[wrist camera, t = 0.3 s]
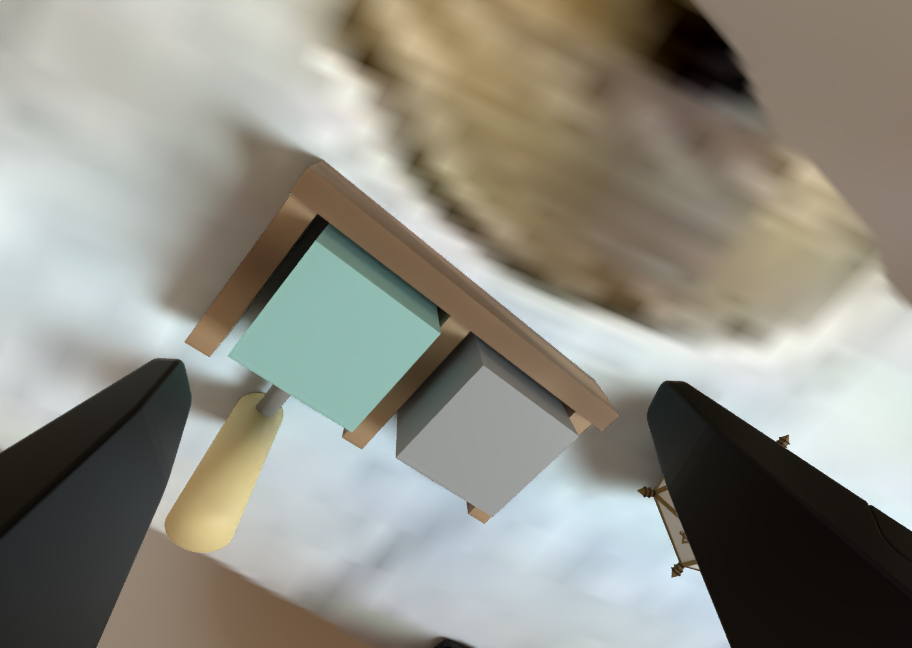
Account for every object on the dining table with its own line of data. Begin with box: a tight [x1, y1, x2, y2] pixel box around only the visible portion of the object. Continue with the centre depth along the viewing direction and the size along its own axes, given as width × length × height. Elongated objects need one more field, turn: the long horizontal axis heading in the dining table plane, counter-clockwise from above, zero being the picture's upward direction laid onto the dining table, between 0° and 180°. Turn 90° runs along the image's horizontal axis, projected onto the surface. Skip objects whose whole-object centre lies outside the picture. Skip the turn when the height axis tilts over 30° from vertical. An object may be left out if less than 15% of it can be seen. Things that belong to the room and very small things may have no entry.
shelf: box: [185, 160, 620, 524], centre depth 24 cm, size 10×18×4 cm, turn 49°
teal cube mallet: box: [165, 223, 441, 553], centre depth 21 cm, size 12×6×8 cm, turn 139°
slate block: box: [396, 331, 579, 517], centre depth 24 cm, size 6×6×5 cm
